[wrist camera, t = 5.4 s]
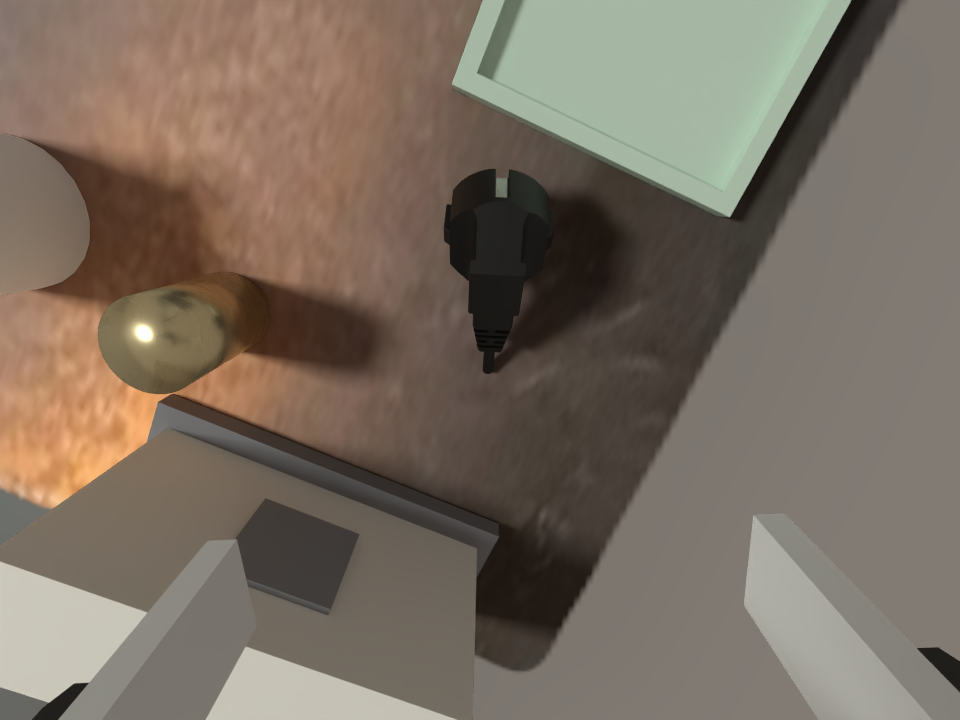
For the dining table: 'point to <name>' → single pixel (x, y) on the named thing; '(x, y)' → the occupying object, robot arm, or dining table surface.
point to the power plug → (497, 248)
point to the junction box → (256, 575)
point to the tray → (652, 81)
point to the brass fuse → (181, 330)
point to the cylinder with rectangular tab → (38, 219)
